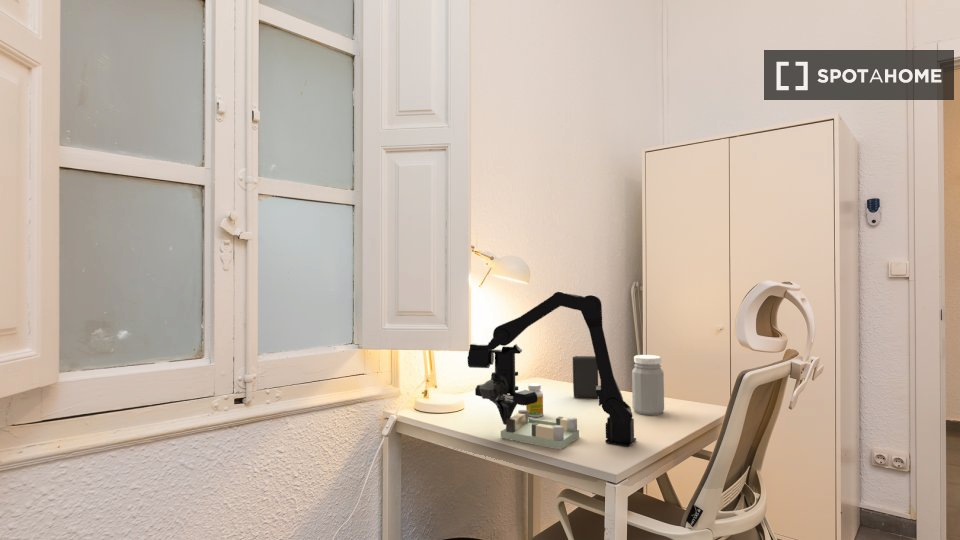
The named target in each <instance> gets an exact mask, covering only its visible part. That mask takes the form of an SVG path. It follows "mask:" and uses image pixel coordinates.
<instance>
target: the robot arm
mask: <svg viewBox="0 0 960 540" xmlns="http://www.w3.org/2000/svg"><path fill="white" fill-rule="evenodd" d="M560 307H563V308H569V309H572V310H576V311H580V312H581V315H582V316H583V320H584V321H585V323H586V327H587V328H588V330H589V335H590V339H591V343H592V349H593V352H594V353H593V354H594V356H595V358H596V362H597V367H598V377H599V379H600V385H598V386H596V392H597V395H598V406H601V408H602V411H604V413H606V414H607V415H609V416H608V417H607V418H606V421H607V422H605V438H606V439H605V443H608V444H610V445H611V444H613V445H619V446H623V447H631V446H632V445H633V444H634V443H635V442H636V441H637V438H636V437H635V419H634V418H633V412H632V408H631V406H630V405H629V404H628V403H626V401H625V400H624V397H623V394H622V392H621V389H620V387H619V385H618V382H617V381H616V378H615V376H614V372H613V369H612V363H611V359H610V355H609V351H608V345H607V340H606V337H605V332H604V328H603V309H602V301H601V299H600V298H599V296H597V295H595V294H586V295H584V296H582V295H578V294H572V293H567V292H564V291H560V290H559V291H556V292H554V293H553V294H552V295H551V296H550V297H548V298H547V299H544V301H541V303H539V304H538V305H536V306H534V307H533V308H531V309H529V310H528V311H527V312H525V313H524V314H522V315H521V316H519V317H516V318H514V319H511V320H509V321H506V322H505V323H504V322H503V323H502V324H500V325H498V326H496V327H495V328H494V330H493V332H492V338H491V340H490V341H489V342H488V344H483V343H481V344H479V343H470V344H469V350H468V354H467V355H468V356H467V366H468V368H472V369H489V368H490V367H491V365H493V366H494V371H492V372H491V374H490V375H491V376H490V380H486V381H485V382H484V383H482V384H481V383H480V384H477V385H476V387H475V391H474V394H475V396H478V397H481V398H482V400H489V401H490V402H492V403H493V404H494V405H495V406H496V408H497V409H498V412H499V415H500V418H501V421H502V424H503V425H504V426H506V420H507V419H510V418H511V417H512V415H513V413H514V411H515V409H516V407H517V405H518V406H519V405H520V406H526V405H529V404H532V403H535V402H537V394H536V393H535V392H533V391H529V389H528V390H527V389H523V390H520V391H519V386H518V385H516V377H517V376H519V372H518V371H516V354H521V353H522V351H523V349H522V348H520V347H519V345H518V344H517V343H515V344H514V345H513V346H508V345H510V344H511V343H512V342H514V341H515V340H516V339H517V337H519V336H520V335H521V334H522V333H523V332H524V331H526V329H527V328H528V327H530V326H531V325H533V324H535V323H536V322H538V321H539V320H541V319H543V318H544V317H546V316H547V315H549V314H550V313H552V312H553V311H555V310H556V309H558V308H560ZM499 346H502V348H501V349H496V348H497V347H499Z"/></svg>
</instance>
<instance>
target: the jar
mask: <svg viewBox="0 0 960 540" xmlns="http://www.w3.org/2000/svg"><path fill="white" fill-rule="evenodd" d="M633 362H634V363H635V364H634V365H633V366H634V368H633V369H632V371H631V385H632V386H631V387H632V388H631V389H632V390H631V391H632V395H631V396H632V409H633V410H634V412H636V414H640V415H644V416H658V415H661V414H662V413H663V411H664V410H665V381H664V380H665V379H664V376H665V375H664V371H663V369H662V368H661V367H662V365H661V363H662V357H661V356H659V355H654V354H636V355H635V356H633Z"/></svg>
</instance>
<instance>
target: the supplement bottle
mask: <svg viewBox="0 0 960 540" xmlns="http://www.w3.org/2000/svg"><path fill="white" fill-rule="evenodd" d="M541 386H542V385H541V384H540V383H529V384H528V385H527V388H528V391H533V392H535V393H536V394H537V402H535V403H532V404H529V405H525V410H527V411H528V417H533V418H539V417H543V415H544V393H543V391H541V389H542V387H541Z"/></svg>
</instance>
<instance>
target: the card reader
mask: <svg viewBox="0 0 960 540" xmlns="http://www.w3.org/2000/svg"><path fill="white" fill-rule="evenodd" d="M596 386H599V371H598V367H597V362H596V358H595V355H575V356H572V388H573V389H572V390H573V398H576V399H597V398H598V399H599V397H598V395H597V392H596Z"/></svg>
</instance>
